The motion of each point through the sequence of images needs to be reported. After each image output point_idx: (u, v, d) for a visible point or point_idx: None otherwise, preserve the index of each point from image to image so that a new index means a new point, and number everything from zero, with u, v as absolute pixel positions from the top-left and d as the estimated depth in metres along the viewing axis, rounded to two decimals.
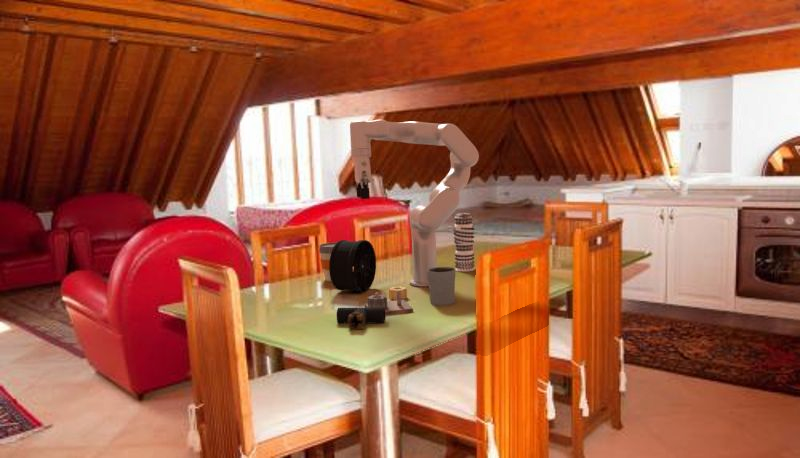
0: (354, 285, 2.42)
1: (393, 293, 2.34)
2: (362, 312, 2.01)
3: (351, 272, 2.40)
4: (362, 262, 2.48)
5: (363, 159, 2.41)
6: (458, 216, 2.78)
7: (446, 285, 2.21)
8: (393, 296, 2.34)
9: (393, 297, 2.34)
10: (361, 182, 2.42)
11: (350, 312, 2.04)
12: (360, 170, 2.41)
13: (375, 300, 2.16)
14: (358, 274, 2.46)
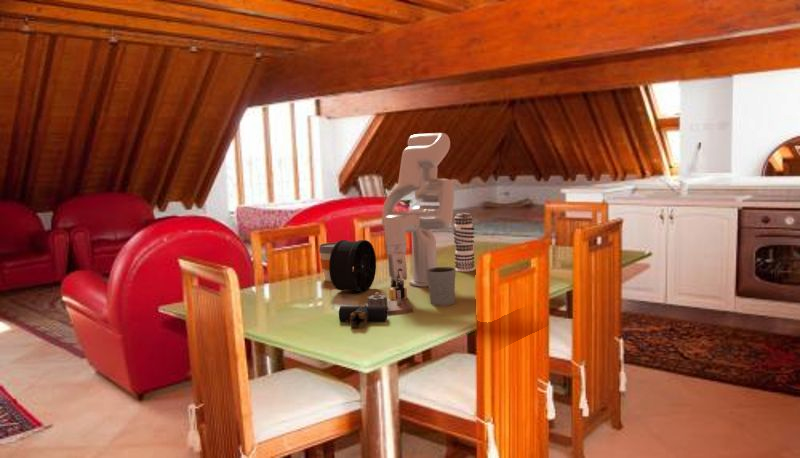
0: (354, 285, 2.42)
1: (393, 293, 2.34)
2: (364, 311, 2.03)
3: (351, 272, 2.40)
4: (362, 262, 2.48)
5: (399, 256, 2.30)
6: (458, 216, 2.78)
7: (446, 285, 2.21)
8: (393, 296, 2.34)
9: (393, 297, 2.34)
10: (396, 282, 2.31)
11: (352, 311, 2.06)
12: (396, 268, 2.30)
13: (375, 300, 2.16)
14: (358, 274, 2.46)
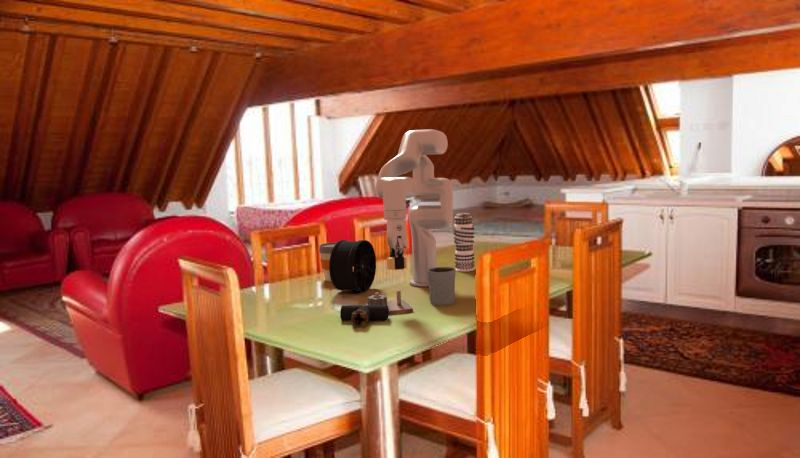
0: (354, 285, 2.42)
1: (392, 263, 2.16)
2: (365, 310, 2.04)
3: (351, 272, 2.40)
4: (362, 262, 2.48)
5: (398, 222, 2.13)
6: (458, 216, 2.78)
7: (446, 285, 2.21)
8: (391, 266, 2.17)
9: (391, 267, 2.17)
10: (395, 250, 2.14)
11: (354, 310, 2.07)
12: (395, 235, 2.12)
13: (375, 300, 2.16)
14: (358, 274, 2.46)
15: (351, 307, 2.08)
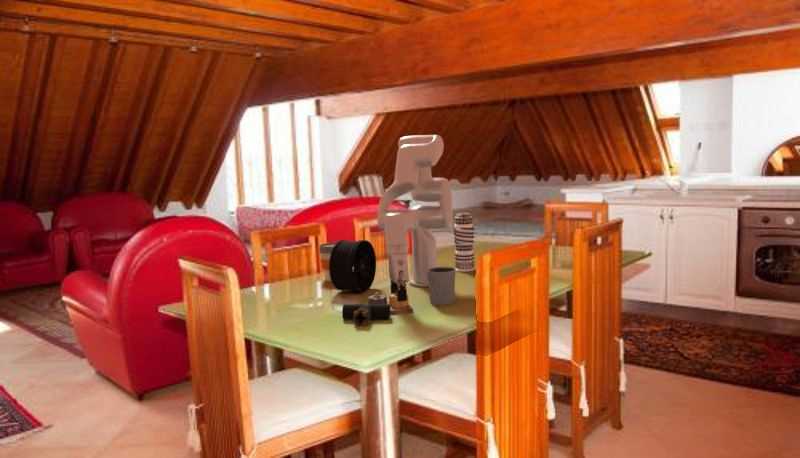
0: (354, 285, 2.42)
1: (394, 300, 2.18)
2: (367, 309, 2.05)
3: (351, 272, 2.40)
4: (362, 262, 2.48)
5: (400, 257, 2.14)
6: (458, 216, 2.78)
7: (446, 285, 2.21)
8: (394, 303, 2.19)
9: (394, 304, 2.19)
10: (398, 283, 2.15)
11: (355, 309, 2.08)
12: (396, 270, 2.14)
13: (375, 300, 2.16)
14: (358, 274, 2.46)
15: (353, 306, 2.09)
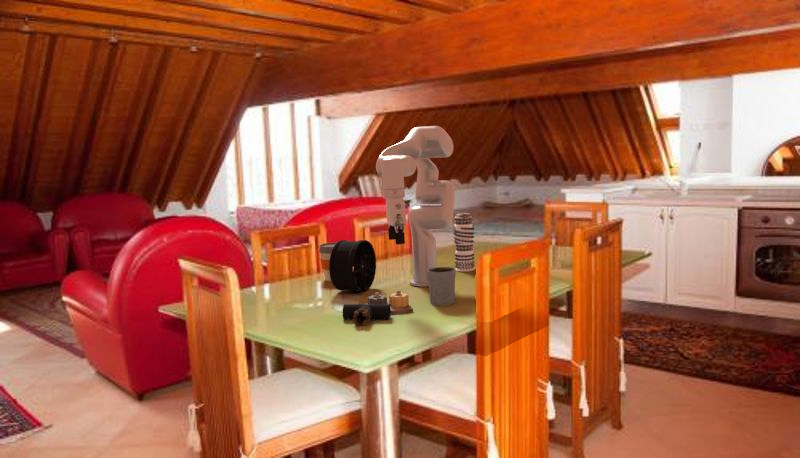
0: (354, 285, 2.42)
1: (394, 300, 2.18)
2: (367, 308, 2.05)
3: (351, 272, 2.40)
4: (362, 262, 2.48)
5: (397, 201, 2.19)
6: (458, 216, 2.78)
7: (446, 285, 2.21)
8: (394, 303, 2.19)
9: (394, 304, 2.19)
10: (395, 226, 2.20)
11: (356, 309, 2.08)
12: (394, 213, 2.19)
13: (375, 300, 2.16)
14: (358, 274, 2.46)
15: (353, 306, 2.09)
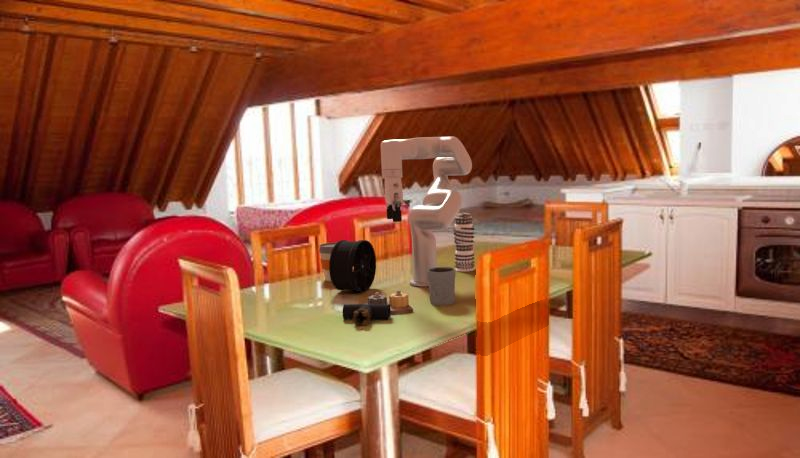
0: (354, 285, 2.42)
1: (394, 300, 2.18)
2: (367, 308, 2.05)
3: (351, 272, 2.40)
4: (362, 262, 2.48)
5: (395, 180, 2.31)
6: (458, 216, 2.78)
7: (446, 285, 2.21)
8: (394, 303, 2.19)
9: (394, 304, 2.19)
10: (393, 204, 2.32)
11: (356, 308, 2.08)
12: (392, 192, 2.31)
13: (375, 300, 2.16)
14: (358, 274, 2.46)
15: (353, 306, 2.09)
